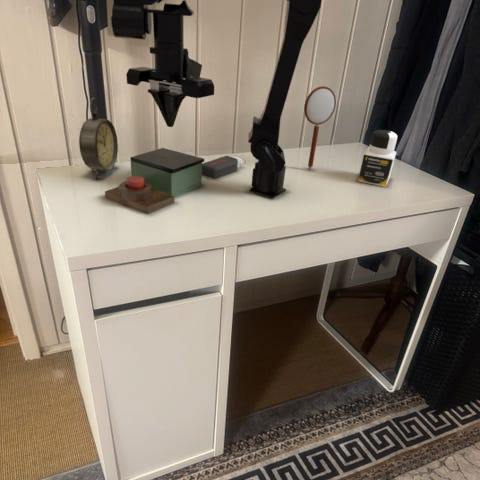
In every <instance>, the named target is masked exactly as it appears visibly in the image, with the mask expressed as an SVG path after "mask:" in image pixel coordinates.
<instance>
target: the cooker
mask: <svg viewBox="0 0 480 480" xmlns="http://www.w3.org/2000/svg"><path fill="white" fill-rule="evenodd" d="M202 163H203V162H202ZM202 163H199V164H197V165H194V166H191V167H188V168H186V169H183V170H180V171H177V172H174V173H173V172H169V171H166V170H162V169H159V168H155V167H152V166H148V165H145V164H141V163H138V162H134V161H131V160H130V175H131V176H139V177H142V178H144V181H146V182H149V183H150V184H151V185H152V189H154V190H157V191H160V192H163V193H166V194H169V195H172V196H174V198H175V197H177V196H180V195H182V194H184V193H187V192H189V191H192V190H194V189H196V188H197V189H198V188H199V187H202V185H203V184H202V183H203V180H202V179H203V175H202Z"/></svg>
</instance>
